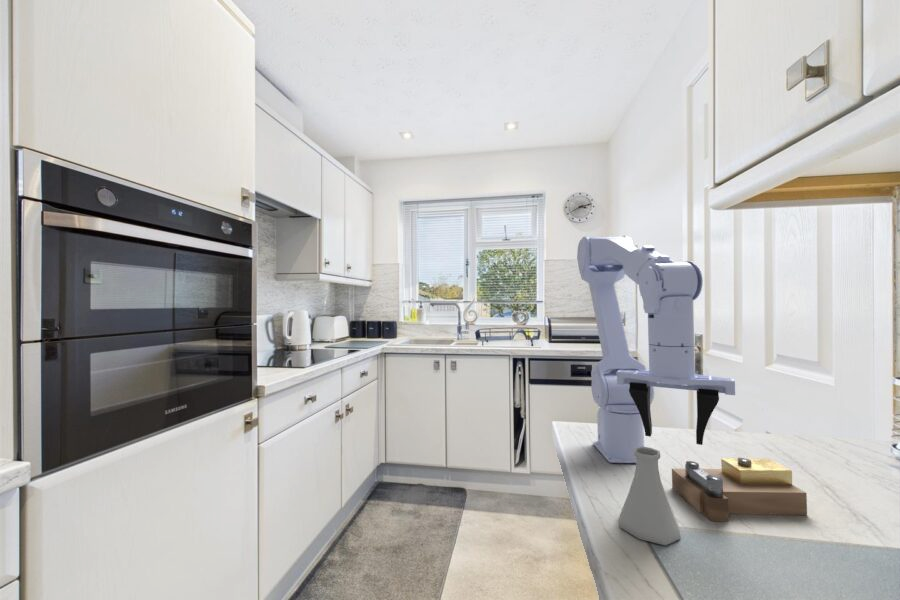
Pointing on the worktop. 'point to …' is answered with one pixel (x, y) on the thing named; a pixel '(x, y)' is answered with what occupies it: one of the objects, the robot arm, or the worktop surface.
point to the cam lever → (704, 479)
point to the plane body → (740, 497)
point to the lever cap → (756, 471)
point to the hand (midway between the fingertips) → (673, 438)
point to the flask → (648, 502)
